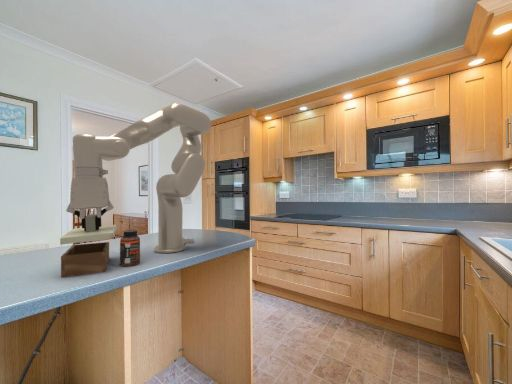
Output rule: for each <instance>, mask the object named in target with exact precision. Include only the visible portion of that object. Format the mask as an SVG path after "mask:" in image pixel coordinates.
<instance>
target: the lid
mask: <svg viewBox="0 0 512 384" xmlns="http://www.w3.org/2000/svg"><path fill="white" fill-rule="evenodd" d="M96 216H97V213H94V214H86V217H85V220H86V231H84V228H82V227H77V228H72V229H71V230H69V231H68V232H67V233H65V234H64V235H63V236H62V237H60V238H59V241H60V245H69V244H71V245H72V244H79V243H86V242H87V243H88V242H93V241H94V242H95V241H102V240H113V239H114V238H115V235H116V232H117V224H111V225H109V224H108V225H101V227H99V230H96V221H95V218H96Z"/></svg>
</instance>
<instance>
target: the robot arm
mask: <svg viewBox="0 0 512 384" xmlns="http://www.w3.org/2000/svg"><path fill="white" fill-rule="evenodd" d="M176 127H179V130H180V134H181V137H182V144H181V146H180V148H179V150H178V152H177V153H176V155H175V157H174V158H173V160H172V162H171V167H170V168H171V170H172V172H173V173H170V174H164V175H161V177H159V178H158V180H157V182H156V186H155V189H156V195H157V204H158V210H157V211H158V213H157V214H158V225H157V226H158V231H157V232H158V233H157V234H158V241H157V242H158V245H157V246H154V248H153V249H154V250H153V251H154V252H155V253H158V254H171V253H178V252H183V251H184V250H185V251H186V249H187V244H189V245H190V244H194V243H195V239H194V238H184V237H183V203H182V199H181V198H186V197H189V196H191V194H193V193H194V191H195V189H196V187H197V185H198V184H199V181H200V179H201V177H202V176H203V173H204V171H205V165H206V162H205V159H204V157H203V156H202V155H201V151H202V144H201V141H200V138H199V135H203V134H206V133H208V132H209V131H210V130H211V128H212V120H211V119H210V117H209V116H208V115H207V114H206V113H204V112H202V111H200V110H197V109H195V108H193V107H190V106H187V105H185V104H183V103H182V104H181V103H178V102H175V103H172V104H169V105H168V106H167V105H166V106H165V107H163V108H160V109H158V110H157V111H155V112H153V113H151V114H149V115H146V116H145V117H143V118H141V119H138V120H137V121H135V122H133V123H132V124H130V125H128V126H127V127H126V128H123V129H121V130H119V131H117V132H116V133H113V134H111V135H110V136H99V135H94V134H89V133H88V134H87V133H85V134H84V133H80V134H79V133H78V134H75V135H74V136H73V137H72V151H73V155H72V156H73V169H74V171H73V172H74V177H71V182H70V183H71V184H70V195H69V197H70V199H69V201H70V202H69V203H68V206H67V208H66V209H65V210H66V212H67V213H70V214H73V215H75V216H77V217H79V218H80V219H81V228H84V231H86V220H85V217H86V216H87V210H88V209H95V212H96V214H97V216H96V218H95V221H96V230H99V227H101V226H102V216H104V214H106V213H107V212H110V211H111V210H114V206H113V204H112V202H111V201H110V192H109V186H108V180H107V178H106V177H104V176H105V175H108V174H109V171H108V169H104V168H103V161H107V162H109V161H115V160H120V159H123V158H126V157H127V156H128V155H129V153H130V152H131V151H130V150H132V149H134V148H136V147H138V146H141V145H145V144H148V143H150V142H152V141H155V139H158V138H159V137H161V136H162V135H164V134H165V133H168V132H169V131H171V130H173V129H174V128H176ZM102 208H103V209H102Z"/></svg>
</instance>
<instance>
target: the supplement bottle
mask: <svg viewBox="0 0 512 384" xmlns="http://www.w3.org/2000/svg"><path fill="white" fill-rule="evenodd" d="M140 260H141V237H140V236H139V235H138V230H136V229H126V230H124V231H123V236H122V237H121V238H120V240H119V265H121V266H122V267H133V266H136V265H137V264H139V263H140V262H141V261H140Z"/></svg>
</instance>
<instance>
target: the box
mask: <svg viewBox="0 0 512 384" xmlns="http://www.w3.org/2000/svg"><path fill="white" fill-rule="evenodd" d="M109 261H110V242H109V241H106V242H93V243H82V244H71V246H70V247H69V248H68V249H67V250H66V251H65V252H63V254H61V256H60V278H66V277H75V276H76V277H77V276H82V275H89V274H90V275H91V274H96V273H97V274H98V273H104V272H106V271H107V268H108V264H109Z"/></svg>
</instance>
